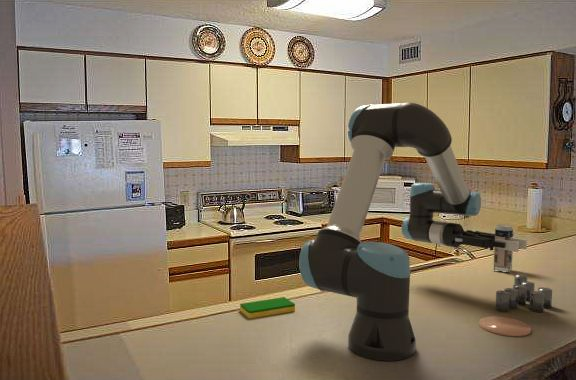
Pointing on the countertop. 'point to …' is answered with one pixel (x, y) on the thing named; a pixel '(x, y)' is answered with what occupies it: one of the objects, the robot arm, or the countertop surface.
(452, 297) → the countertop surface
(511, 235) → the beer can
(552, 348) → the countertop surface
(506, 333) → the peach disc
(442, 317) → the countertop surface
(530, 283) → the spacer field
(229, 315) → the countertop surface
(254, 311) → the dish sponge
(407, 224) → the robot arm
